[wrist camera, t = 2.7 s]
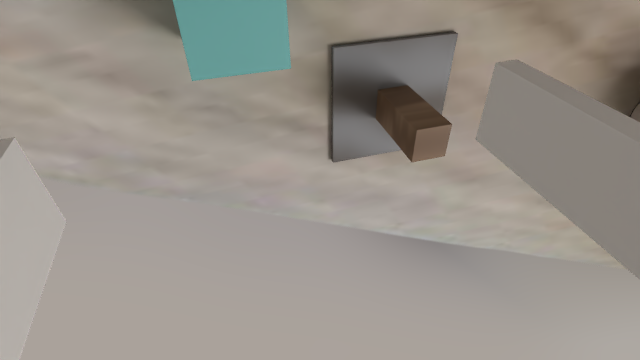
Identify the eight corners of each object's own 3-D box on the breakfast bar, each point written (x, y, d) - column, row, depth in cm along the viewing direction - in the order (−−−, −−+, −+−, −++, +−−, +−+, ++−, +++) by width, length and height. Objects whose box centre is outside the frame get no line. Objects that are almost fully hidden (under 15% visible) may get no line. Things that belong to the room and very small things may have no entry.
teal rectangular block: (168, -53, 21) (164, -34, 16) (260, -58, 22) (283, -42, 17) (190, 41, 24) (192, 80, 19) (269, 32, 26) (291, 68, 21)
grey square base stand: (331, 46, 27) (368, 84, 22) (455, 31, 29) (515, 64, 24) (331, 159, 33) (360, 211, 28) (433, 141, 36) (477, 186, 30)
